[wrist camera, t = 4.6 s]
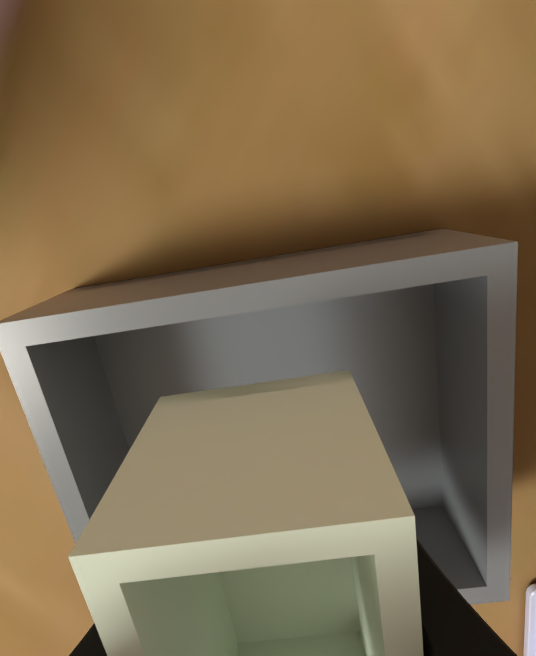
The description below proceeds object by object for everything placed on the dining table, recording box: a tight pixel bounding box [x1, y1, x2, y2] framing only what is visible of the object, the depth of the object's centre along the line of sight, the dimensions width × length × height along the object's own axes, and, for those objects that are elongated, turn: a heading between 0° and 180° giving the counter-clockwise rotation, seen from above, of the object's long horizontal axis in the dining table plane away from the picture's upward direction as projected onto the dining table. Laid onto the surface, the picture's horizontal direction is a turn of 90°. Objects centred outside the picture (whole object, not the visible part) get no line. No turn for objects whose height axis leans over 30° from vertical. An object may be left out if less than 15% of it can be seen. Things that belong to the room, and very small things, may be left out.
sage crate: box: [68, 370, 424, 656], centre depth 9 cm, size 5×9×5 cm, turn 9°
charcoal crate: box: [0, 229, 518, 604], centre depth 16 cm, size 15×13×5 cm
